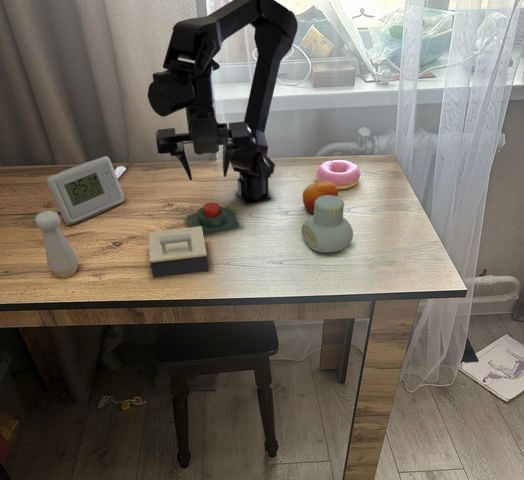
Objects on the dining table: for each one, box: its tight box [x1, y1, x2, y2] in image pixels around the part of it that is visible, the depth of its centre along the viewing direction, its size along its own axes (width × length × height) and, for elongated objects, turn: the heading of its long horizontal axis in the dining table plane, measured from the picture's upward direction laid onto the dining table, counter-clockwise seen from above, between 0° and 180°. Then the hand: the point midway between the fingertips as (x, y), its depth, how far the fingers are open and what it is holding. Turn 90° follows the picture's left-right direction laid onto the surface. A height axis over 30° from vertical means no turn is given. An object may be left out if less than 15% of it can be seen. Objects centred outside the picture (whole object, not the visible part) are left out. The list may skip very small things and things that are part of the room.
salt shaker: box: [34, 210, 79, 279], centre depth 98 cm, size 6×6×13 cm
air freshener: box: [301, 195, 354, 253], centre depth 104 cm, size 11×8×10 cm
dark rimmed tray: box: [150, 255, 210, 279], centre depth 103 cm, size 10×11×4 cm
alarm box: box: [186, 205, 240, 236], centre depth 114 cm, size 10×8×3 cm
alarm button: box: [202, 202, 220, 217], centre depth 112 cm, size 4×4×2 cm
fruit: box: [302, 181, 339, 214], centre depth 116 cm, size 8×8×8 cm
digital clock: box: [46, 155, 125, 226], centre depth 117 cm, size 16×9×11 cm, turn 124°
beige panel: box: [148, 226, 208, 264], centre depth 100 cm, size 10×11×4 cm
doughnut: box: [315, 159, 362, 190], centre depth 126 cm, size 11×11×4 cm
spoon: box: [114, 165, 127, 180], centre depth 130 cm, size 5×18×1 cm, turn 171°
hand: (207, 177), depth 107 cm, fingers open, 7 cm apart
